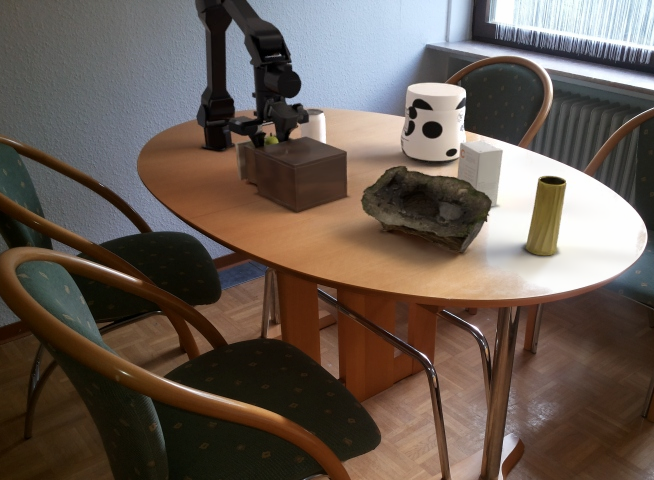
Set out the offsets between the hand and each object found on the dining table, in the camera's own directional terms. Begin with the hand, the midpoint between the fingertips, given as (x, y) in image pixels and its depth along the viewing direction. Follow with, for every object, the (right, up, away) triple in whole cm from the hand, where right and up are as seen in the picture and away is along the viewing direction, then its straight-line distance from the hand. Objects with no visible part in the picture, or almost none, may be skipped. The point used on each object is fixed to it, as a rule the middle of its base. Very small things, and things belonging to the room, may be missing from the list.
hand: (272, 157), depth 151 cm
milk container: (+39, +5, +23) cm, 46 cm away
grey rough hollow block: (+35, -22, -22) cm, 47 cm away
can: (+7, +5, +20) cm, 22 cm away
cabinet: (+8, -9, -3) cm, 13 cm away
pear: (0, -1, +1) cm, 1 cm away
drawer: (0, -4, +3) cm, 5 cm away
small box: (+47, -11, -3) cm, 49 cm away
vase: (+58, -24, -24) cm, 67 cm away
